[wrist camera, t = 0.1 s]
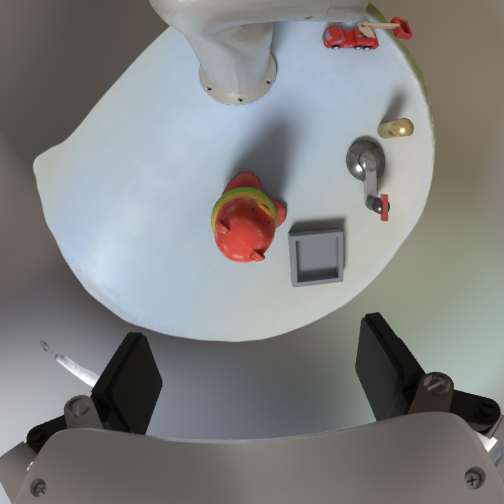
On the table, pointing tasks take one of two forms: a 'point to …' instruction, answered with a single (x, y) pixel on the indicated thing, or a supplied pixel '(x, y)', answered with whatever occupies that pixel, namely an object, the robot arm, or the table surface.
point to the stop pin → (396, 128)
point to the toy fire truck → (364, 34)
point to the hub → (354, 155)
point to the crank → (373, 184)
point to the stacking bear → (245, 219)
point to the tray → (316, 257)
